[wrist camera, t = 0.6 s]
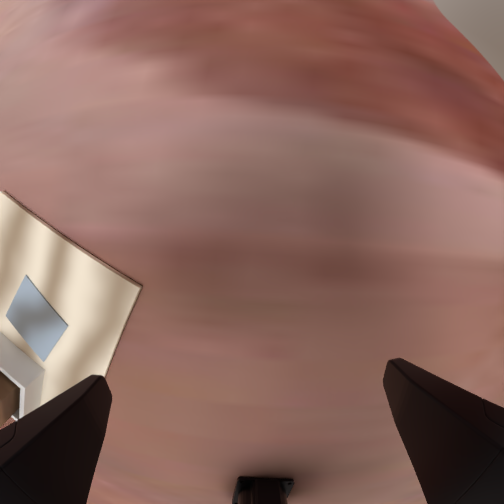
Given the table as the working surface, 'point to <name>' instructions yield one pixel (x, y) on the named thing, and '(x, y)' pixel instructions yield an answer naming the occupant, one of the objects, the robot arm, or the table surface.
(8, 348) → the sleeve
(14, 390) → the walnut block
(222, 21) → the table surface
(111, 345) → the board
